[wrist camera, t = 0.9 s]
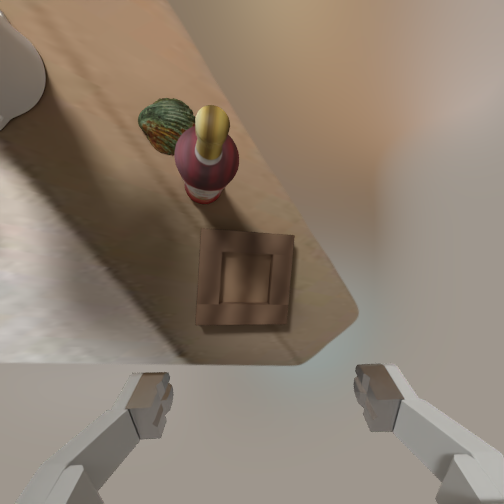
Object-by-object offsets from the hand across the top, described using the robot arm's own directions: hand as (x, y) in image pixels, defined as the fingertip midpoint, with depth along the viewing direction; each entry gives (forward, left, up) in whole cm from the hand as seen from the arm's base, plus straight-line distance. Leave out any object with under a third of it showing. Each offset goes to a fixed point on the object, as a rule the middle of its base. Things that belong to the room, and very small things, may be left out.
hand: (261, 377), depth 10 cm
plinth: (+7, -2, -38) cm, 39 cm away
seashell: (-9, +25, -39) cm, 47 cm away
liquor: (-2, +15, -38) cm, 41 cm away
